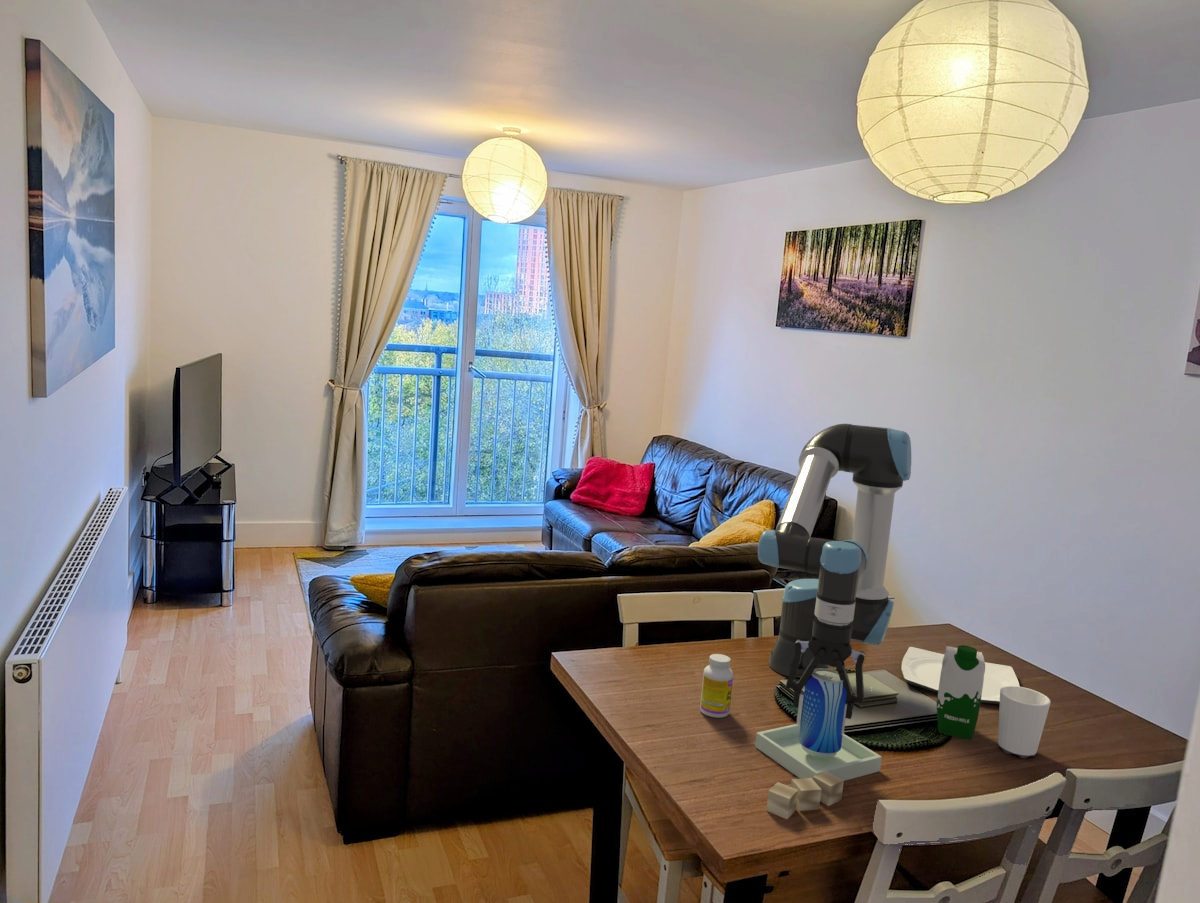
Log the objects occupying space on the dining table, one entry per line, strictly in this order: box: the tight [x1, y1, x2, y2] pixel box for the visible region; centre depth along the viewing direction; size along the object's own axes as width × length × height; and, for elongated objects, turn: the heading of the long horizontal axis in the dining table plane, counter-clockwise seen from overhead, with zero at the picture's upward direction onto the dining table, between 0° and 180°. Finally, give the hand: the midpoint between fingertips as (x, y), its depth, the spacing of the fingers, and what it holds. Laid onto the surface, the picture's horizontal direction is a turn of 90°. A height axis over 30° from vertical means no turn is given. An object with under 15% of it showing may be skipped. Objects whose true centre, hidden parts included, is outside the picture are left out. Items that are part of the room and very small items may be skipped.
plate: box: [900, 646, 1021, 705], centre depth 224 cm, size 29×29×3 cm
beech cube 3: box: [765, 781, 798, 820], centre depth 156 cm, size 4×4×4 cm
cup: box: [997, 686, 1052, 759], centre depth 186 cm, size 10×10×13 cm
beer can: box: [799, 668, 847, 758], centre depth 175 cm, size 8×8×16 cm
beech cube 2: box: [790, 778, 822, 812], centre depth 159 cm, size 4×4×4 cm
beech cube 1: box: [813, 771, 845, 807], centre depth 162 cm, size 4×4×4 cm
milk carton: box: [936, 645, 986, 741], centre depth 194 cm, size 9×9×20 cm
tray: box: [754, 723, 883, 782], centre depth 177 cm, size 18×18×3 cm
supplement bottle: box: [699, 653, 734, 719], centre depth 194 cm, size 7×7×13 cm
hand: (820, 727), depth 176 cm, fingers closed on beer can, 8 cm apart
